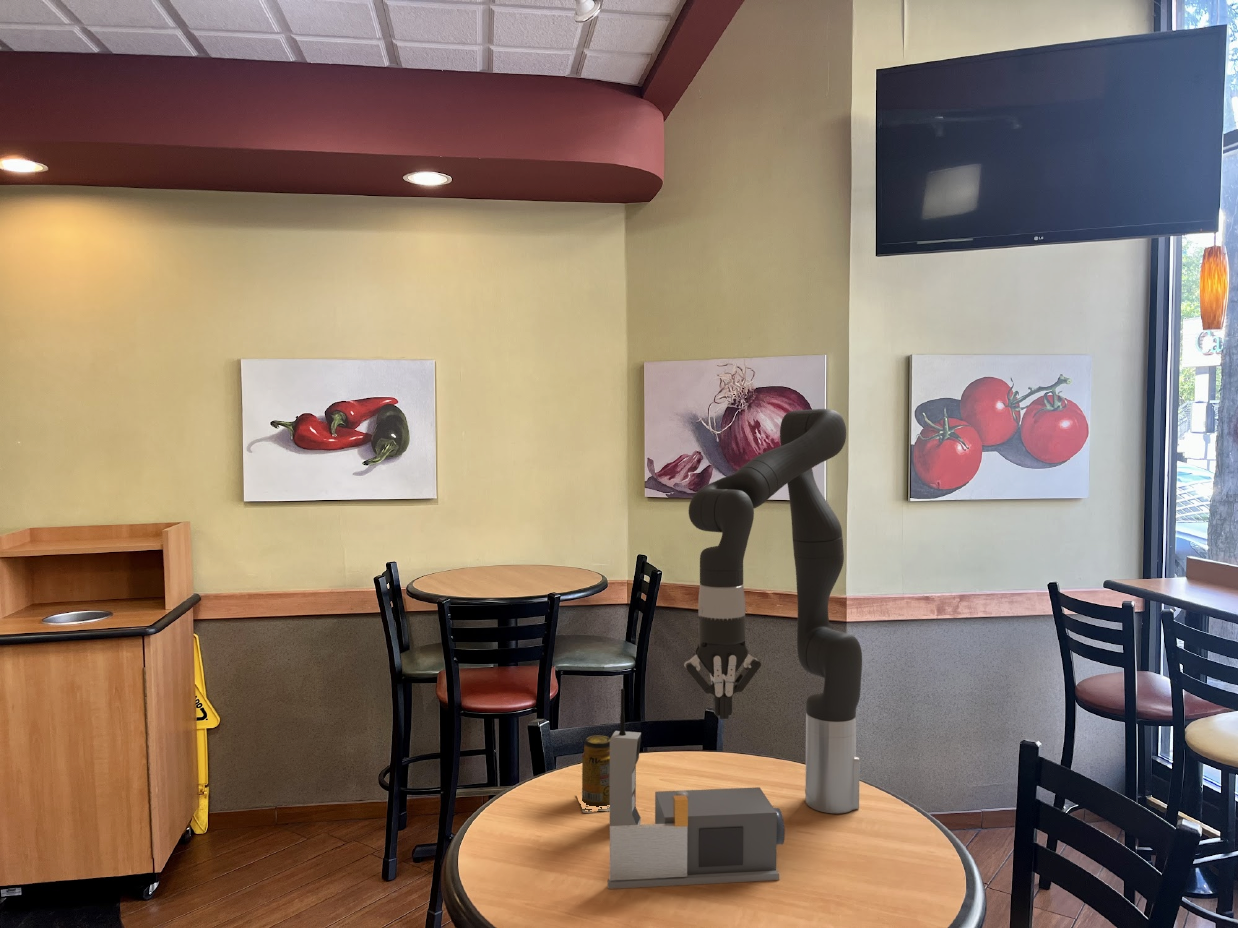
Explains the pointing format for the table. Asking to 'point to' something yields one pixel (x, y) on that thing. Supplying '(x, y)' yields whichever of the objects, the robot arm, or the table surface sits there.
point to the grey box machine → (722, 837)
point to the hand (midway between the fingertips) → (722, 717)
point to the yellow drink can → (596, 772)
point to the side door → (651, 847)
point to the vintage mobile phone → (623, 774)
